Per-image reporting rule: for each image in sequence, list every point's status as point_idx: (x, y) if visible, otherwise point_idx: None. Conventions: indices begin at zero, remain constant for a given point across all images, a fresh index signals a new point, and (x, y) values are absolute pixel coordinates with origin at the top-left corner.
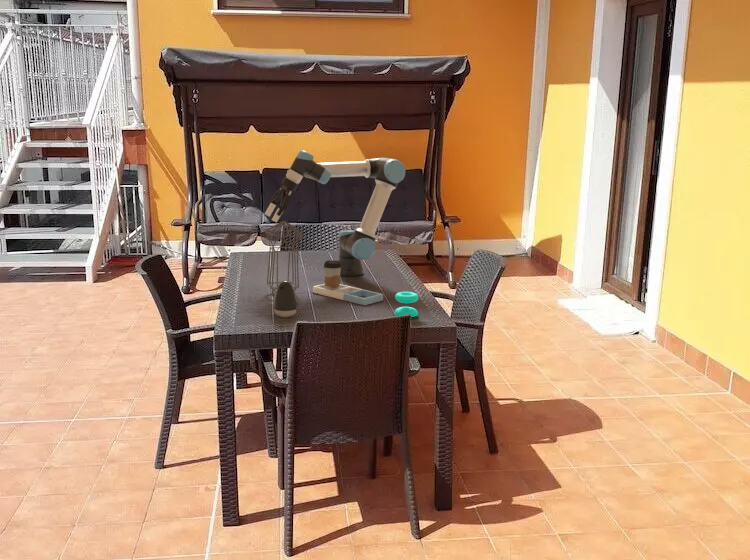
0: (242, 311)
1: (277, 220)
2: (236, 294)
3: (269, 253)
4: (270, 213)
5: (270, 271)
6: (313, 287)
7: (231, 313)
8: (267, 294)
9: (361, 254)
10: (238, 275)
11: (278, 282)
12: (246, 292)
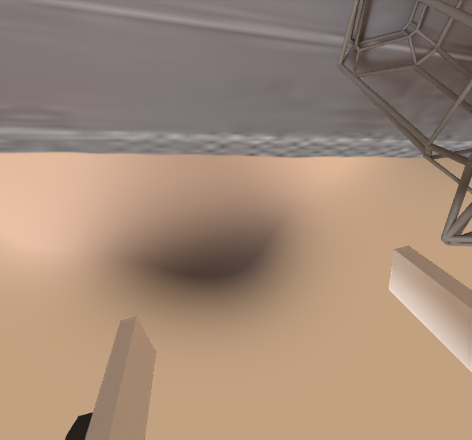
0: (444, 129)
1: (425, 261)
2: (306, 140)
3: (413, 140)
4: (133, 355)
5: (362, 86)
6: None
7: None
8: (349, 60)
9: None
10: (68, 135)
11: (351, 26)
12: (297, 118)
